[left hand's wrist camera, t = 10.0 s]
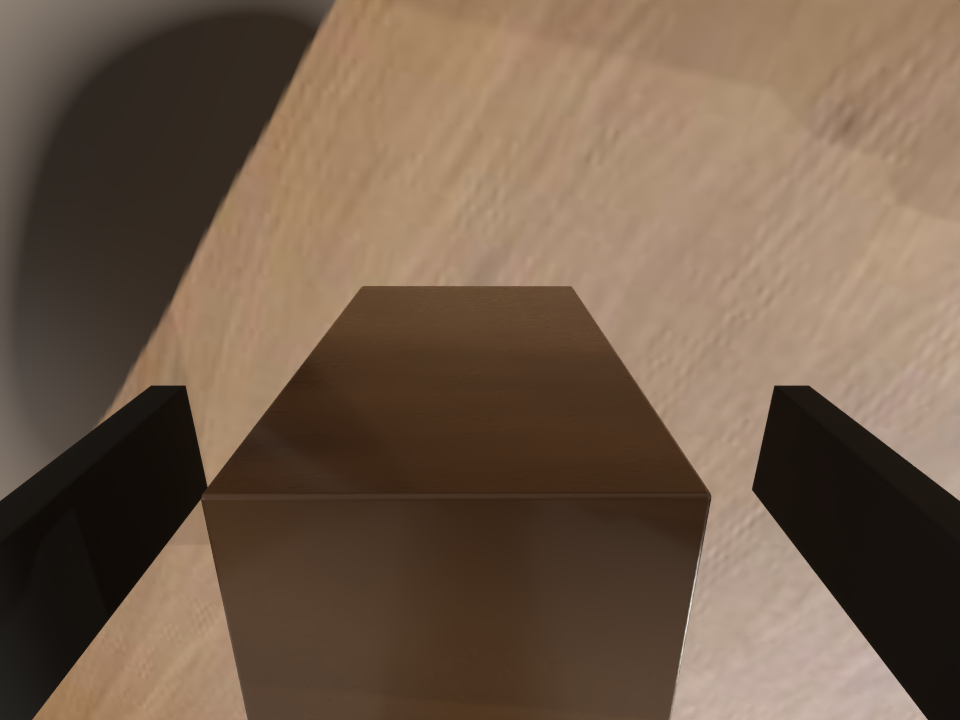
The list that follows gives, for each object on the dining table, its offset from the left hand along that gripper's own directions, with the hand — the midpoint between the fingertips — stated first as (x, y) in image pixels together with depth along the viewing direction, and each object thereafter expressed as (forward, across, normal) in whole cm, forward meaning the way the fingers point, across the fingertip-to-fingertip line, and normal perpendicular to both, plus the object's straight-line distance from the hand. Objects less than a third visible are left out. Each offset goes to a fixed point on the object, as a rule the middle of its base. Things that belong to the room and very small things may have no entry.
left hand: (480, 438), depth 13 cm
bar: (+3, 0, -8) cm, 9 cm away
